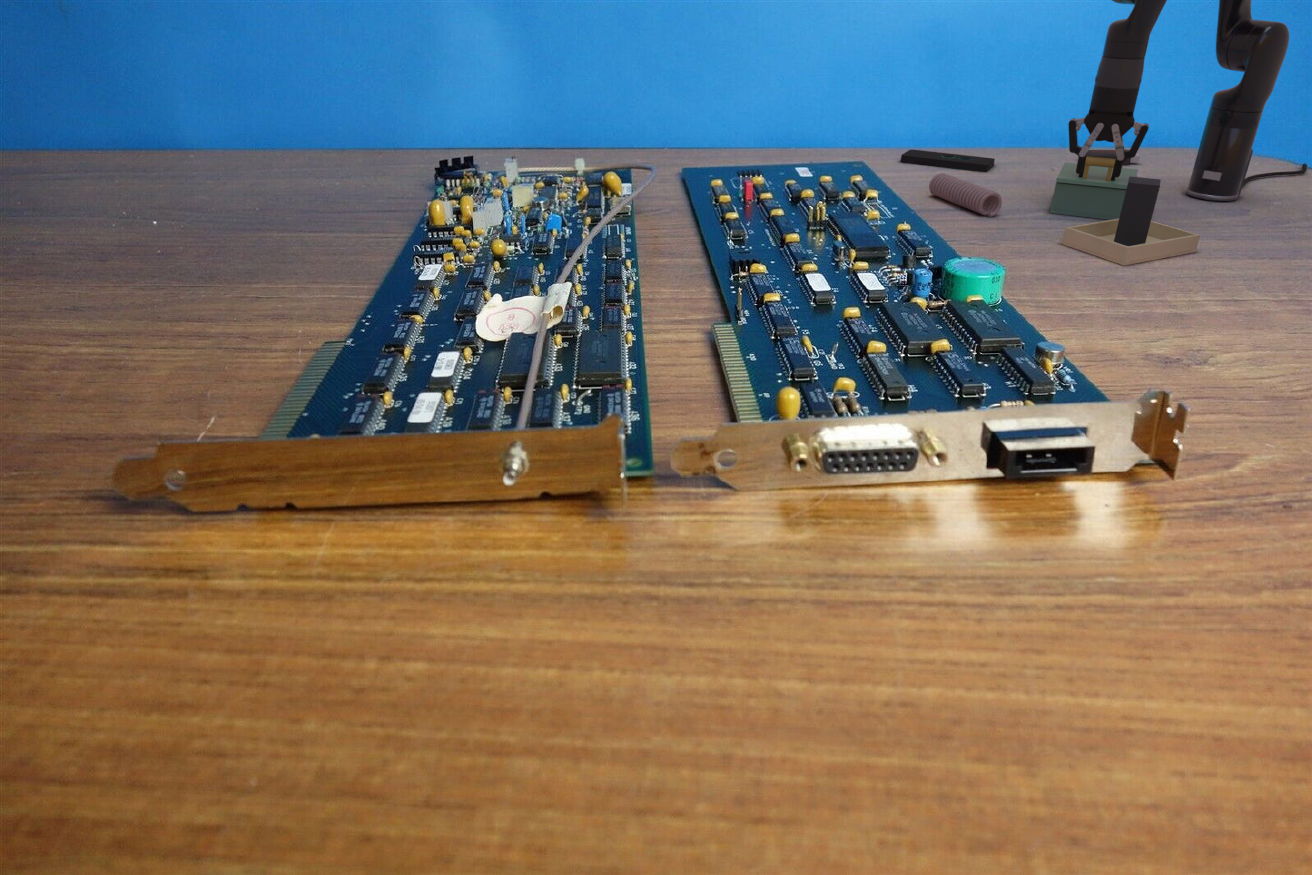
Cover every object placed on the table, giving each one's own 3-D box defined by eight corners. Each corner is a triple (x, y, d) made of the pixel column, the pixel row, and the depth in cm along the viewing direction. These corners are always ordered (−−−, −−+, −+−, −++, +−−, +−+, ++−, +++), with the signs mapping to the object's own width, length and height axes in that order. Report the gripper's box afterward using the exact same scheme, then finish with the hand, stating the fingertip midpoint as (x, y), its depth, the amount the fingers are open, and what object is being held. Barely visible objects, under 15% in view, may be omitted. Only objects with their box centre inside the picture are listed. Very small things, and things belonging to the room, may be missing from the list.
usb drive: (1079, 160, 223) (1081, 148, 221) (1130, 160, 222) (1133, 148, 221) (1087, 164, 218) (1090, 152, 217) (1139, 165, 218) (1142, 153, 217)
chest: (1126, 221, 175) (1133, 190, 173) (1049, 213, 181) (1055, 183, 178) (1129, 202, 188) (1137, 173, 185) (1058, 195, 193) (1064, 166, 190)
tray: (1130, 232, 169) (1135, 215, 168) (1195, 252, 159) (1200, 234, 158) (1061, 244, 163) (1065, 227, 161) (1124, 265, 152) (1128, 247, 151)
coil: (1006, 193, 177) (949, 172, 191) (986, 192, 175) (930, 171, 190) (999, 217, 179) (943, 195, 194) (980, 217, 177) (925, 194, 192)
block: (1143, 250, 158) (1160, 185, 153) (1112, 247, 160) (1128, 182, 154) (1144, 243, 162) (1160, 179, 156) (1114, 239, 164) (1129, 176, 158)
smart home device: (987, 164, 210) (900, 154, 219) (986, 172, 211) (899, 162, 220) (995, 157, 217) (910, 148, 225) (994, 165, 217) (910, 155, 226)
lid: (1134, 190, 172) (1140, 163, 170) (1055, 182, 177) (1061, 156, 175) (1137, 173, 185) (1143, 148, 183) (1064, 166, 190) (1069, 142, 188)
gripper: (1162, 82, 169) (1139, 177, 177) (1077, 78, 174) (1058, 169, 183) (1160, 89, 163) (1137, 186, 171) (1072, 84, 169) (1054, 178, 177)
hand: (1096, 177), depth 177 cm, fingers closed on lid, 5 cm apart
